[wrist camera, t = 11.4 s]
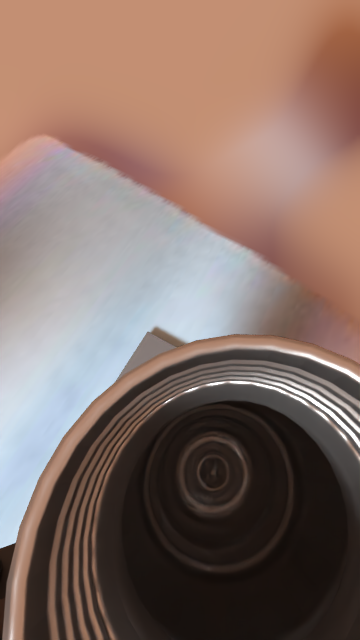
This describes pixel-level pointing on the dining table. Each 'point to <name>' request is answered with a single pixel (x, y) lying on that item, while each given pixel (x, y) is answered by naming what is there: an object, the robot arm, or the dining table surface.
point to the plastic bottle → (201, 503)
